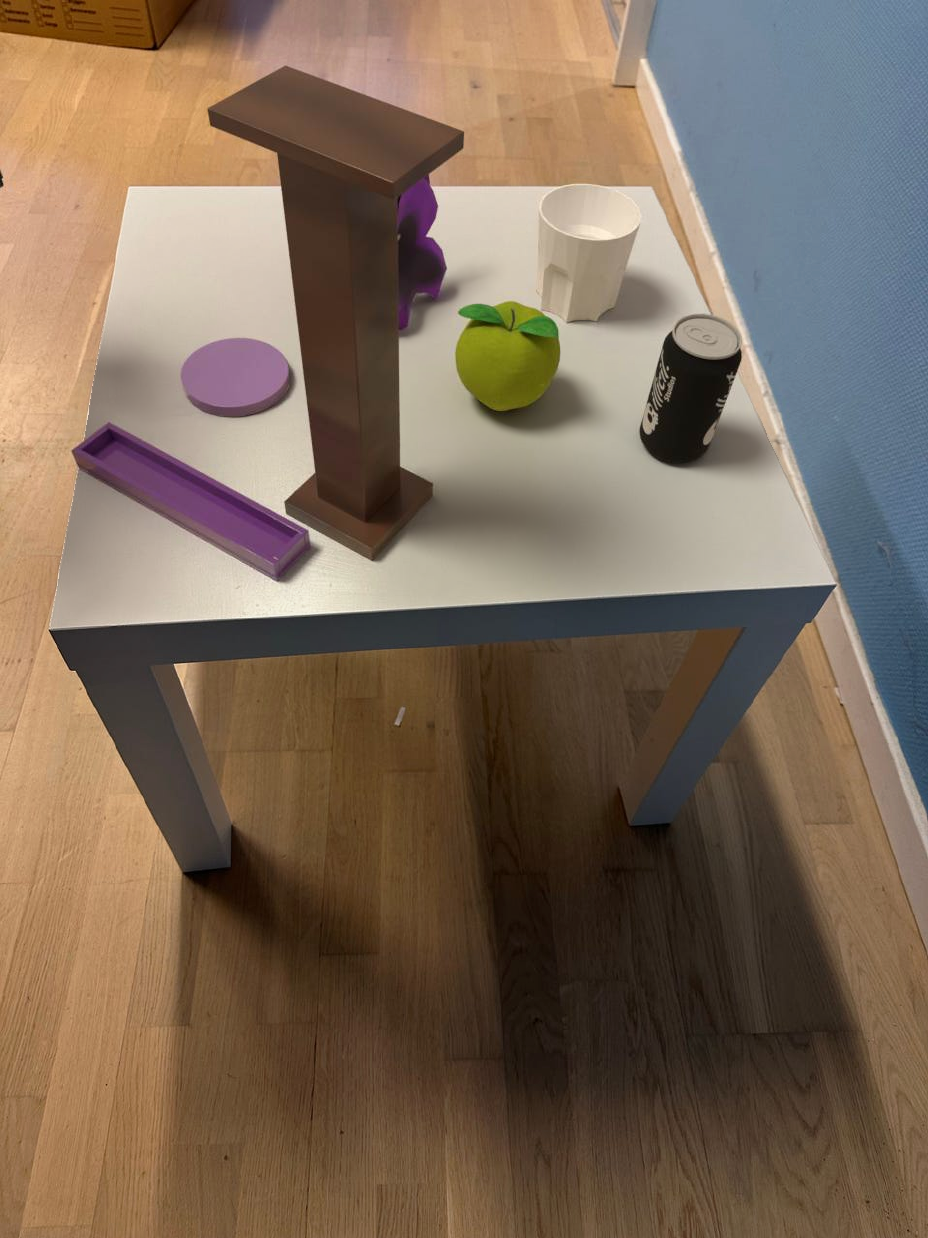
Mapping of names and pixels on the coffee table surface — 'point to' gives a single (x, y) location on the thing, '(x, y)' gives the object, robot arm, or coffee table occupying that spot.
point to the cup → (583, 249)
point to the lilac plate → (235, 377)
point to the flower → (417, 248)
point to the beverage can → (690, 387)
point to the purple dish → (193, 500)
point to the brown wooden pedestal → (345, 285)
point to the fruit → (507, 354)
